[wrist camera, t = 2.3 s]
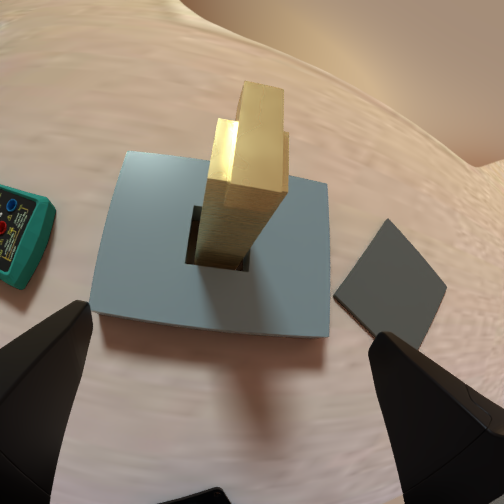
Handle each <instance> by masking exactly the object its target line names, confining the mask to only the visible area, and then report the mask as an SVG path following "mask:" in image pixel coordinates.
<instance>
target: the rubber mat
mask: <svg viewBox="0 0 504 504" xmlns="http://www.w3.org/2000/svg"><path fill="white" fill-rule="evenodd" d="M446 289H447V286H446V285H445V284H444V282H443V281H442V280H441V279H440V277H439V276H438V275H437V274H436V272H435V271H434V270H433V269H432V268H431V266H430V265H429V264H428V263H427V262H426V260H425V259H424V258H423V257H422V256H421V254H420V253H419V252H418V251H417V250H416V249H415V248H414V246H413V245H412V244H411V243H410V242H409V241H408V240H407V238H406V237H405V236H404V235H403V234H402V233H401V232H400V231H399V230H398V229H397V227H396V226H395V225H394V224H393V223H392V222H391V221H390V220H389V219H387V220H386V221H385V222H384V224H383V225H382V227H381V228H380V230H379V231H378V233H377V234H376V236H375V237H374V239H373V240H372V242H371V243H370V245H369V246H368V248H367V249H366V250H365V252H364V253H363V255H362V256H361V258H360V259H359V261H358V262H357V263H356V265H355V266H354V268H353V269H352V270H351V272H350V273H349V275H348V276H347V277H346V279H345V280H344V281H343V283H342V284H341V286H340V287H339V288H338V290H337V291H336V292H335V294H334V295H333V296H334V297H335V298H336V299H337V300H338V301H339V302H340V303H341V304H342V305H343V306H344V307H345V308H346V309H347V310H348V311H349V312H350V313H351V314H352V315H353V316H354V317H355V318H356V319H357V320H358V321H359V322H360V323H361V324H362V325H363V326H364V327H365V328H366V329H367V330H368V331H369V332H370V333H371V334H372V335H373V336H374V337H375V338H376V336H377V334H378V333H379V332H381V331H389V332H392V333H393V334H395V335H396V336H398V337H399V338H401V339H402V340H404V341H405V342H406V343H408V344H409V345H411V346H412V347H414V348H415V349H417V350H418V349H419V347H420V345H421V343H422V341H423V339H424V337H425V335H426V333H427V331H428V329H429V327H430V325H431V323H432V321H433V318H434V316H435V314H436V312H437V310H438V307H439V305H440V303H441V301H442V298H443V296H444V294H445V291H446Z"/></svg>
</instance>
